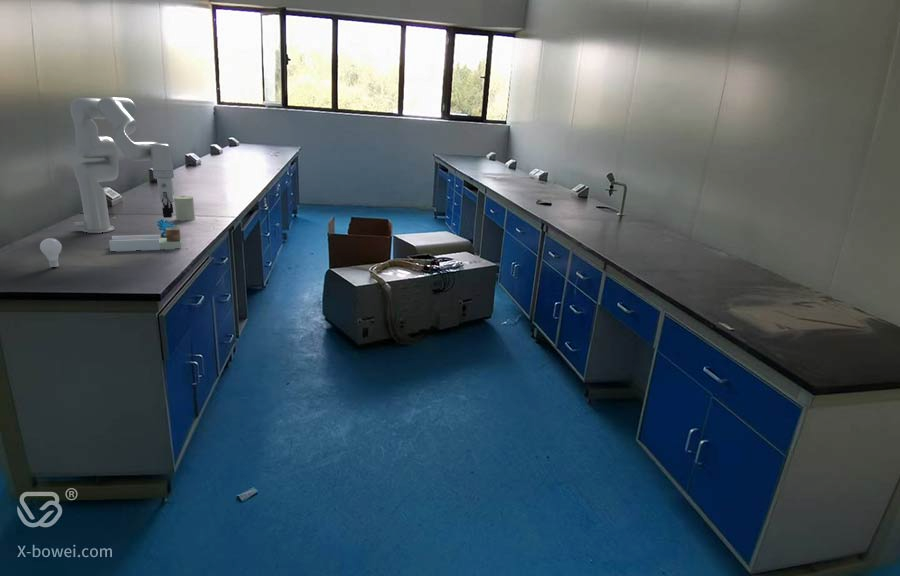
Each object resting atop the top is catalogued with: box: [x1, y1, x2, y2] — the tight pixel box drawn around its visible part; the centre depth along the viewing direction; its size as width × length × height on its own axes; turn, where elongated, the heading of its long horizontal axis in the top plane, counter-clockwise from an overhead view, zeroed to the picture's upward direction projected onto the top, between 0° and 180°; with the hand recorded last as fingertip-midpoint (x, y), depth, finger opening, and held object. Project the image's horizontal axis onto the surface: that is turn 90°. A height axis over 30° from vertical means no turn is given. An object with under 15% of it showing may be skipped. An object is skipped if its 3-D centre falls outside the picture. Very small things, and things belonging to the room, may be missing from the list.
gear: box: [156, 218, 179, 236], centre depth 248 cm, size 11×6×10 cm
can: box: [173, 195, 196, 222], centre depth 281 cm, size 9×9×12 cm
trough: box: [108, 234, 183, 252], centre depth 228 cm, size 26×9×4 cm, turn 113°
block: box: [165, 226, 182, 242], centre depth 230 cm, size 5×5×5 cm
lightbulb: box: [39, 237, 63, 268], centre depth 195 cm, size 6×6×11 cm
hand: (168, 215), depth 227 cm, fingers open, 9 cm apart
